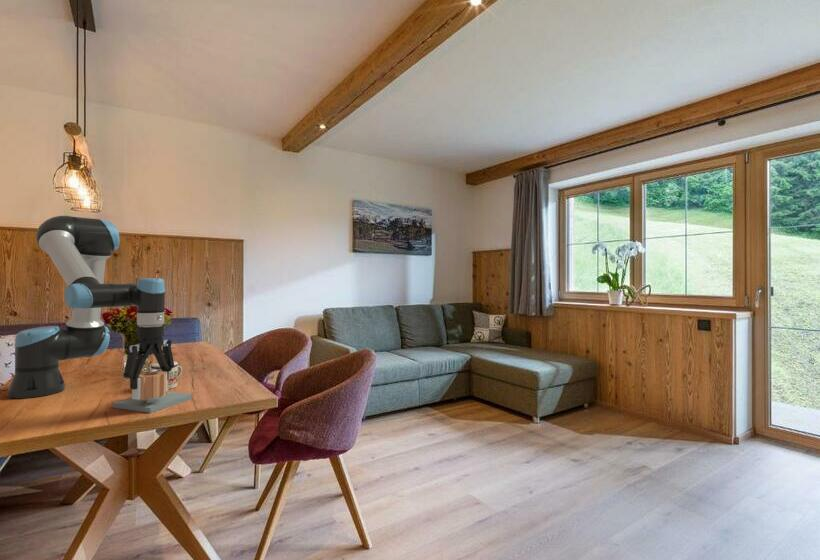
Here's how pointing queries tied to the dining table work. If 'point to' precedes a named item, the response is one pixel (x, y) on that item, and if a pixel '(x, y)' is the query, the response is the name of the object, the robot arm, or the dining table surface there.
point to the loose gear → (152, 384)
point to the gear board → (153, 406)
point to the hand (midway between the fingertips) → (150, 394)
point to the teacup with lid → (170, 374)
